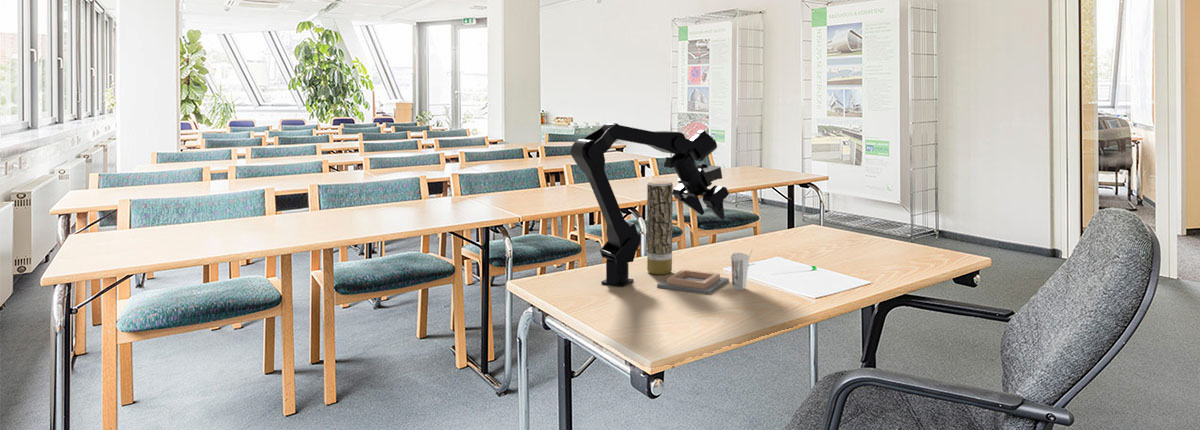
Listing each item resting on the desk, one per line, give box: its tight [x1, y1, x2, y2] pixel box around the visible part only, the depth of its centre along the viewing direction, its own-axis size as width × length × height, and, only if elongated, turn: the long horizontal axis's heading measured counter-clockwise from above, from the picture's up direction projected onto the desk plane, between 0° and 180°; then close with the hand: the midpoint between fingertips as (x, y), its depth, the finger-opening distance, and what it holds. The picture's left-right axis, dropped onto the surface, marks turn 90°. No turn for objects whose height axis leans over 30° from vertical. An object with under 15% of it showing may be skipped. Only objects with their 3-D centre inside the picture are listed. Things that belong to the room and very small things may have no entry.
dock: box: [656, 269, 730, 295], centre depth 182 cm, size 14×14×2 cm
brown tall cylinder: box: [646, 180, 674, 276], centre depth 193 cm, size 7×7×25 cm
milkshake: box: [730, 250, 753, 291], centre depth 177 cm, size 4×5×10 cm
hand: (712, 216), depth 196 cm, fingers open, 9 cm apart
